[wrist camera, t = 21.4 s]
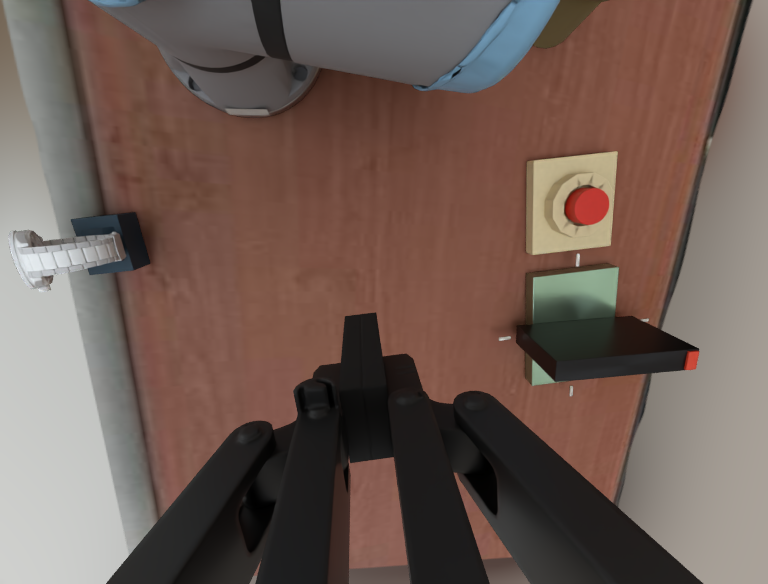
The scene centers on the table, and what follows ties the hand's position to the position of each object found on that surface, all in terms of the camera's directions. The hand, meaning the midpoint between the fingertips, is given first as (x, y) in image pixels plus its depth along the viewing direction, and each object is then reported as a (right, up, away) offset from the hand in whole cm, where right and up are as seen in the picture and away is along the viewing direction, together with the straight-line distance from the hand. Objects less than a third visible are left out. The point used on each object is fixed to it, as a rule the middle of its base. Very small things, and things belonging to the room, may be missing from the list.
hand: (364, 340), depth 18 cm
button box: (+21, +12, +23) cm, 34 cm away
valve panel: (+23, -2, +28) cm, 36 cm away
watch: (-27, +8, +21) cm, 35 cm away
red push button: (+22, +11, +20) cm, 32 cm away
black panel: (+24, -2, +26) cm, 35 cm away
